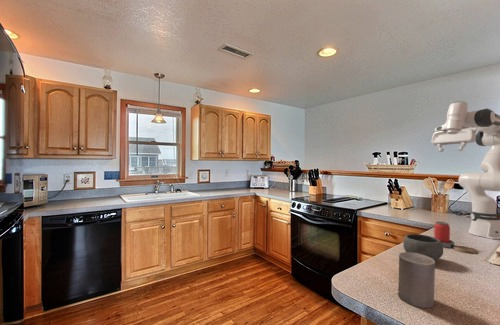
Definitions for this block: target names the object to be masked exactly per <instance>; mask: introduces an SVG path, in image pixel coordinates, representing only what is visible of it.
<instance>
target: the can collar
mask: <svg viewBox="0 0 500 325" xmlns="http://www.w3.org/2000/svg"><path fill="white" fill-rule="evenodd" d="M432 237H433V238H434V236H432ZM441 243H442V245H443V249H444V248H445V249H446V248H447V249H454V248H453V247H454V246H455V241H453V240H451V239H450V243H444V242H441Z"/></svg>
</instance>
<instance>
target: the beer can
mask: <svg viewBox="0 0 500 325" xmlns="http://www.w3.org/2000/svg"><path fill="white" fill-rule="evenodd" d="M433 228H434V235H433V237H434V238H436V239H439V240H440V241H441V242H444V243H450V240H451V228H450V224H449V222H444V221H436V222H435V224H434V227H433Z"/></svg>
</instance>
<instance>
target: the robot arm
mask: <svg viewBox="0 0 500 325" xmlns="http://www.w3.org/2000/svg"><path fill="white" fill-rule="evenodd" d="M430 141H431V142H430V143H431V144H432V145H433V146H437V148H438V152H439V153H442V152H444V151H445V150H444V148H443V146H447V145H460V144H461V145H460V146H458V147H457V151H458V152H462V151H464V148H465V147H466V146H467V144H473V143H476V145H478V146H480V147H490V149H488V151H487V152H486V153H485V155H484V157H483V158H482V160H481V163H480V165H479V166H480V169H481V170H482V171H483V172H464V173H461V175H459V177H458V184H459V186H460V187H462V188H463V189H465V190H466V192H467V193H468V195H469V197H470V200H471V211H470V220H471V221H470V225H469V228H468V233H469V234H470V235H474V236H478V237H482V238H487V239H491V240H500V214H498V213H497V201H496V199H494V198H493V197H491V196H489V195H488V194H487V193H486V191H487V192H488V191H489V192H500V115H499V114H497V113H495V112H494V111H493V110H492V109H490V108H483V109H478V110H473V111H468V103H467V102H466V101H456V102H453V103H450V105H449V106H448V109H447V112H446V121H445V123H444V124H441V125H440V126H437V127H435V128H434V133H433V134H432V136H431V140H430Z"/></svg>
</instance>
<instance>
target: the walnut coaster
mask: <svg viewBox="0 0 500 325" xmlns="http://www.w3.org/2000/svg"><path fill="white" fill-rule="evenodd" d="M452 249H454V251H457V252H461V253H463V254H464V253H465V254H472V255H473V254H474V255H475V254H476V255H477V253H478V250H477V249H475V248H473V247H469V246H463V245H454V247H453V248H452Z"/></svg>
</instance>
